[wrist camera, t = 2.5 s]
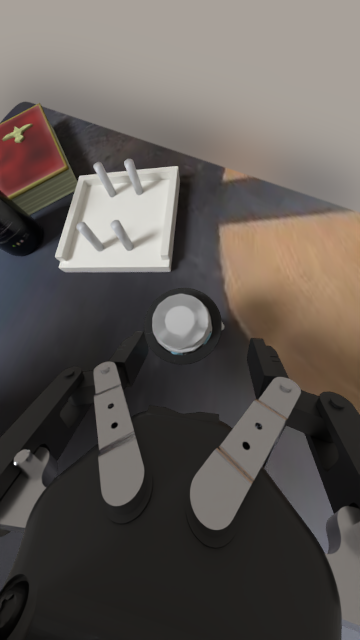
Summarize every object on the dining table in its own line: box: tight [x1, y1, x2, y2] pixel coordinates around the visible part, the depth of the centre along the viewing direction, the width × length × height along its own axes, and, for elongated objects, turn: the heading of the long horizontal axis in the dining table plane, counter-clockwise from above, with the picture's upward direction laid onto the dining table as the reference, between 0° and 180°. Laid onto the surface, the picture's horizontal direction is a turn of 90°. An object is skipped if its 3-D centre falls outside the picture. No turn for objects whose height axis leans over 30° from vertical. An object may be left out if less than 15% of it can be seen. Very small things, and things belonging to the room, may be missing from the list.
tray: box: [55, 159, 180, 272], centre depth 24 cm, size 16×16×5 cm
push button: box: [144, 288, 225, 364], centre depth 16 cm, size 7×5×10 cm
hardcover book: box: [0, 103, 78, 215], centre depth 32 cm, size 12×21×4 cm, turn 27°
